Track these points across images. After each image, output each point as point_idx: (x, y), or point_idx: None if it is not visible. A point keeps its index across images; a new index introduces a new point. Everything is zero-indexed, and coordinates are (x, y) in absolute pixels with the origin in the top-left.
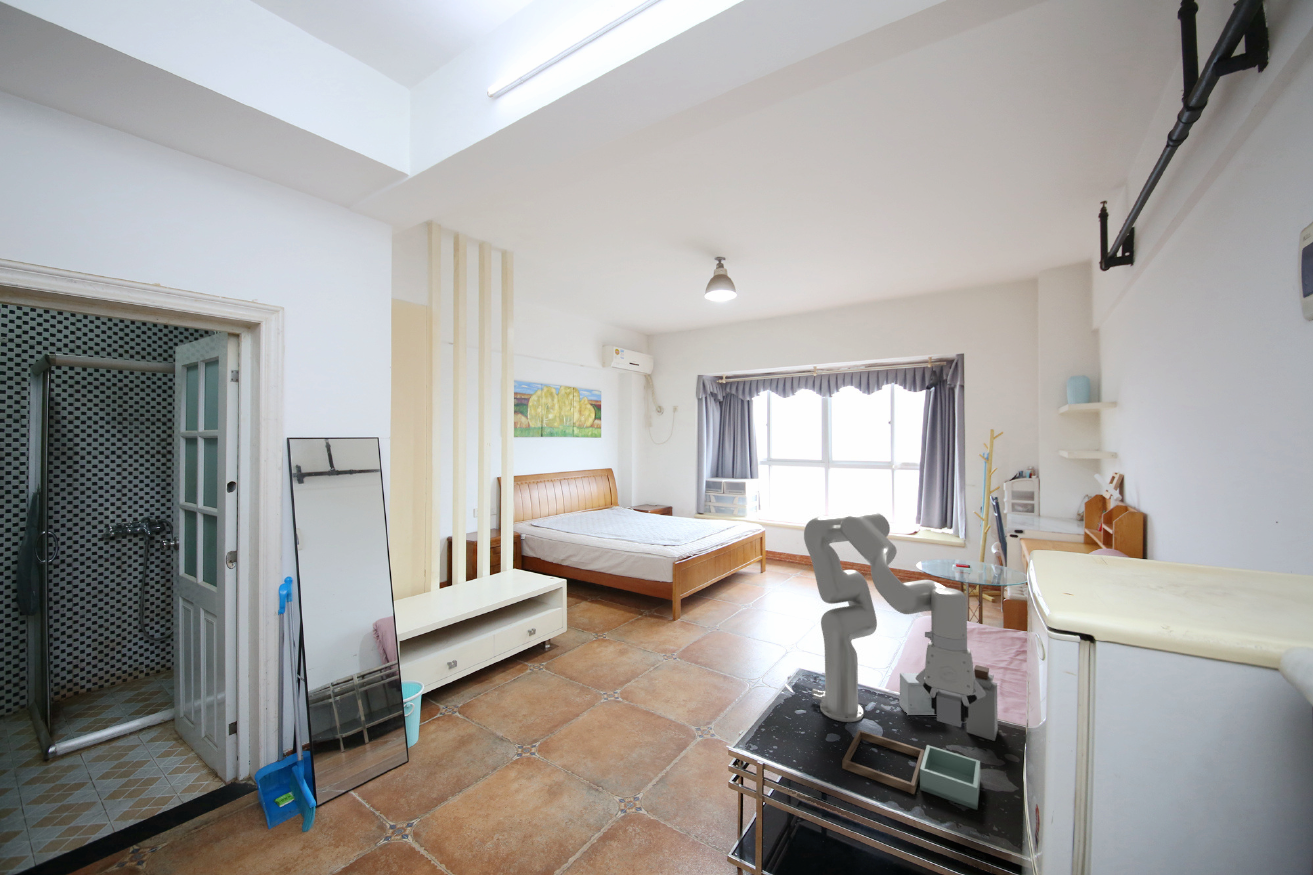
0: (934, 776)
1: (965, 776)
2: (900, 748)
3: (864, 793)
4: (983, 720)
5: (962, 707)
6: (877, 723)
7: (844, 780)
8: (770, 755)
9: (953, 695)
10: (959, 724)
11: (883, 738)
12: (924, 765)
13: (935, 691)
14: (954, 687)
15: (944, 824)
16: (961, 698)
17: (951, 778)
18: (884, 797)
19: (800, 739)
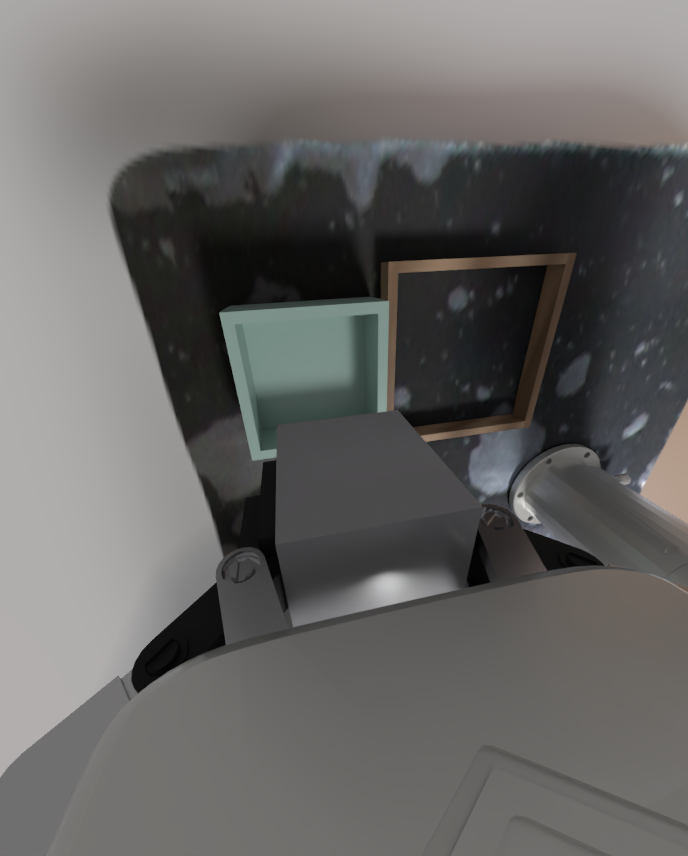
0: (345, 303)
1: (284, 417)
2: (432, 428)
3: (502, 163)
4: (289, 613)
5: (270, 524)
6: (480, 490)
7: (554, 194)
8: None
9: (353, 598)
10: (284, 430)
11: (475, 430)
12: (379, 331)
13: (498, 552)
14: (363, 707)
15: (285, 159)
16: (288, 601)
17: (297, 313)
18: (450, 184)
19: (649, 314)
